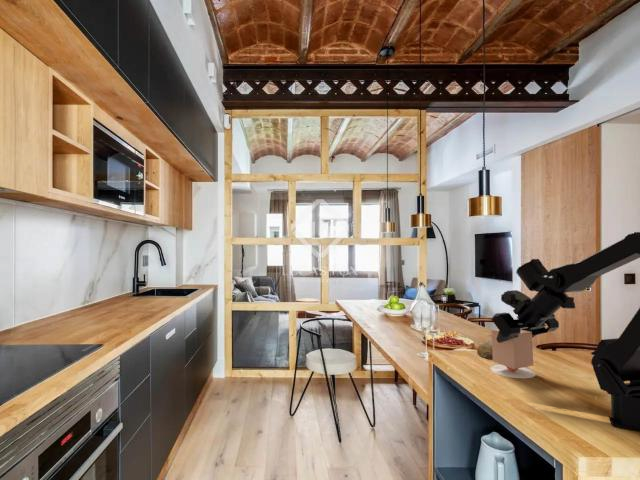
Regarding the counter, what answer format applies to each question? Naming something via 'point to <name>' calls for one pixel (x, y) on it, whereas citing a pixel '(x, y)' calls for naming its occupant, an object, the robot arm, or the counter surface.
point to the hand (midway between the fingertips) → (507, 339)
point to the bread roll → (485, 349)
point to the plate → (513, 372)
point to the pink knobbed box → (513, 350)
